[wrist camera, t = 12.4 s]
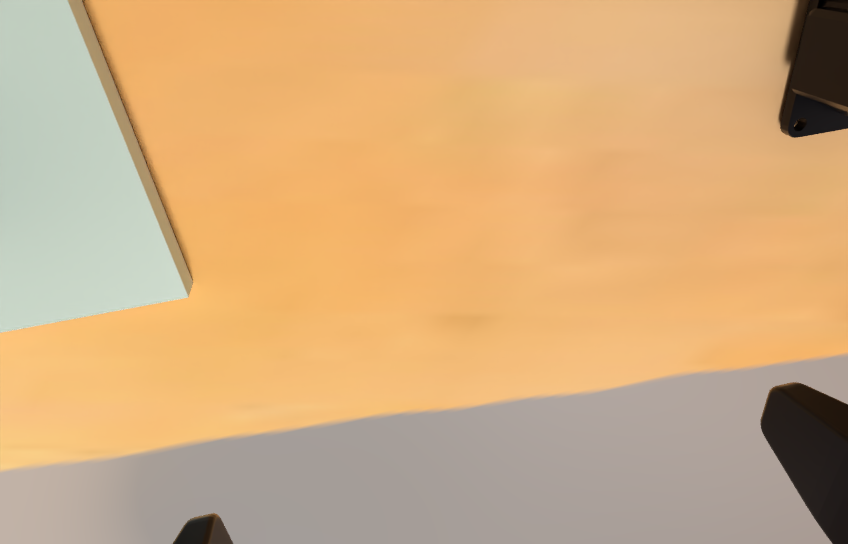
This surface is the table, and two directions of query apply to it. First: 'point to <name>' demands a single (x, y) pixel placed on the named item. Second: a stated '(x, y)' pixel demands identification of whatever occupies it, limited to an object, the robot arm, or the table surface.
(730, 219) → the table surface
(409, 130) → the table surface
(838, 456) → the robot arm
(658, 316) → the table surface
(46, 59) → the pin board
